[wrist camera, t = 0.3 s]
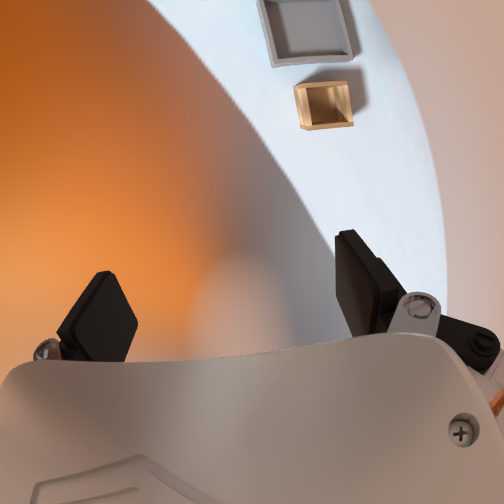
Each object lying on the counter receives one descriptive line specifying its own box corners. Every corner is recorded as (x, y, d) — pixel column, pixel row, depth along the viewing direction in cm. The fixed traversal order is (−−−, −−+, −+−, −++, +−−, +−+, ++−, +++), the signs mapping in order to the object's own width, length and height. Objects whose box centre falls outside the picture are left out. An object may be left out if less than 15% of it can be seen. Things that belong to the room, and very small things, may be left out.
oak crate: (292, 87, 32) (299, 83, 28) (334, 83, 32) (346, 80, 27) (300, 128, 35) (308, 130, 31) (340, 123, 34) (353, 126, 30)
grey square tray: (256, 3, 25) (257, -5, 23) (330, 0, 25) (336, -7, 22) (271, 67, 30) (273, 64, 28) (345, 62, 30) (353, 59, 27)
